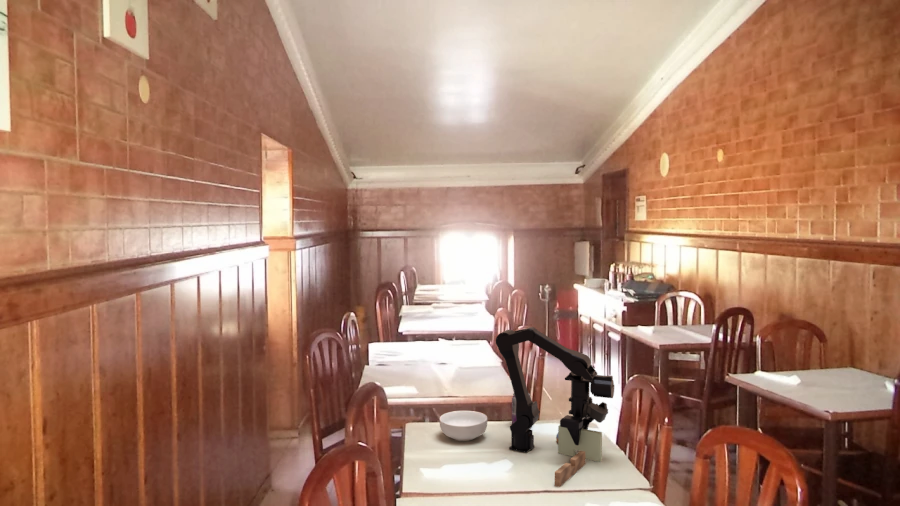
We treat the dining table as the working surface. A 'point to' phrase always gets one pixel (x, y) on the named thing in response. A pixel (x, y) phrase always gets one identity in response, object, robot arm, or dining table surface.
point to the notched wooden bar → (569, 468)
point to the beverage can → (514, 408)
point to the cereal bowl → (463, 424)
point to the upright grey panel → (581, 443)
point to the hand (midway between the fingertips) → (579, 442)
